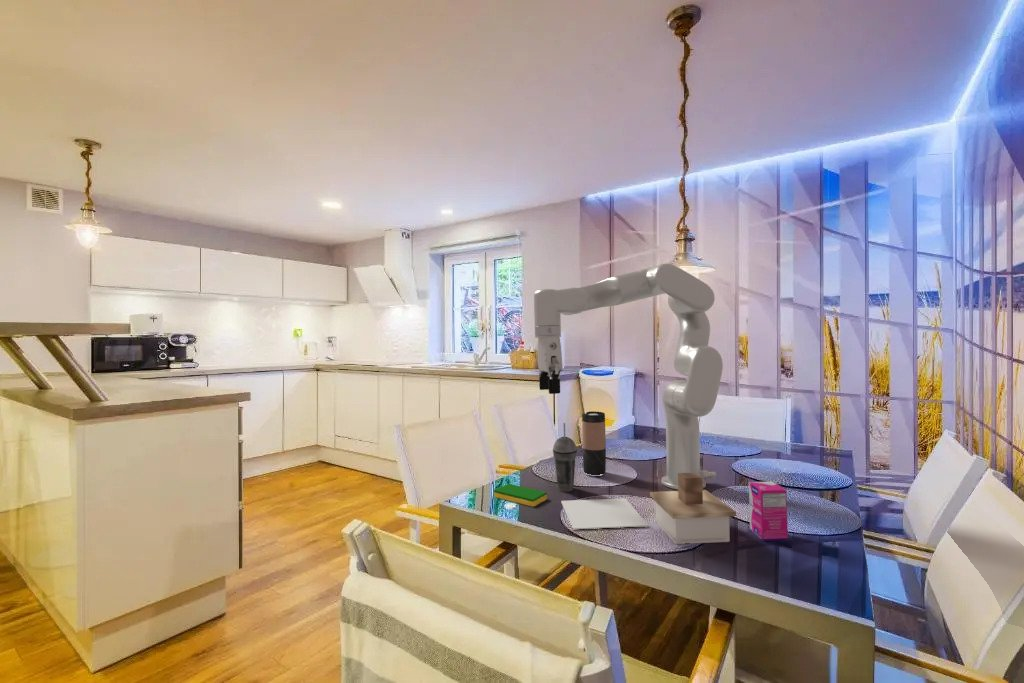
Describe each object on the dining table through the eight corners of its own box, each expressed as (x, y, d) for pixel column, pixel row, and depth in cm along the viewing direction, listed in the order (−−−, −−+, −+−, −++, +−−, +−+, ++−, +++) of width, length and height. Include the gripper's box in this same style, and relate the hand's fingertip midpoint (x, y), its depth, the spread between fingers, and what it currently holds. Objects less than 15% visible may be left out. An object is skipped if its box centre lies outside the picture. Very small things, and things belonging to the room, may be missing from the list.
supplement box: (748, 530, 105) (747, 481, 105) (774, 530, 105) (774, 480, 105) (761, 541, 100) (760, 489, 100) (789, 541, 99) (788, 489, 99)
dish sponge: (508, 491, 137) (508, 483, 137) (547, 500, 129) (547, 491, 129) (493, 498, 131) (493, 490, 131) (533, 508, 123) (533, 499, 123)
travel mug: (608, 476, 147) (607, 415, 147) (584, 477, 147) (583, 415, 147) (604, 469, 155) (602, 411, 155) (581, 470, 155) (580, 411, 155)
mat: (625, 500, 126) (625, 498, 126) (648, 527, 108) (648, 525, 108) (561, 502, 125) (561, 500, 125) (573, 530, 108) (573, 528, 107)
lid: (705, 493, 113) (705, 465, 113) (736, 516, 99) (735, 484, 99) (650, 496, 112) (649, 467, 112) (672, 518, 98) (672, 486, 98)
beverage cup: (577, 485, 140) (576, 420, 140) (578, 493, 133) (577, 424, 132) (553, 484, 141) (552, 420, 140) (553, 492, 133) (551, 424, 133)
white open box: (704, 519, 112) (703, 495, 112) (729, 541, 100) (729, 514, 100) (656, 521, 111) (655, 497, 111) (675, 544, 99) (675, 516, 99)
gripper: (570, 331, 124) (571, 394, 124) (551, 332, 141) (553, 387, 141) (543, 332, 122) (545, 396, 123) (528, 333, 139) (529, 388, 140)
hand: (549, 391), depth 132 cm, fingers open, 9 cm apart
